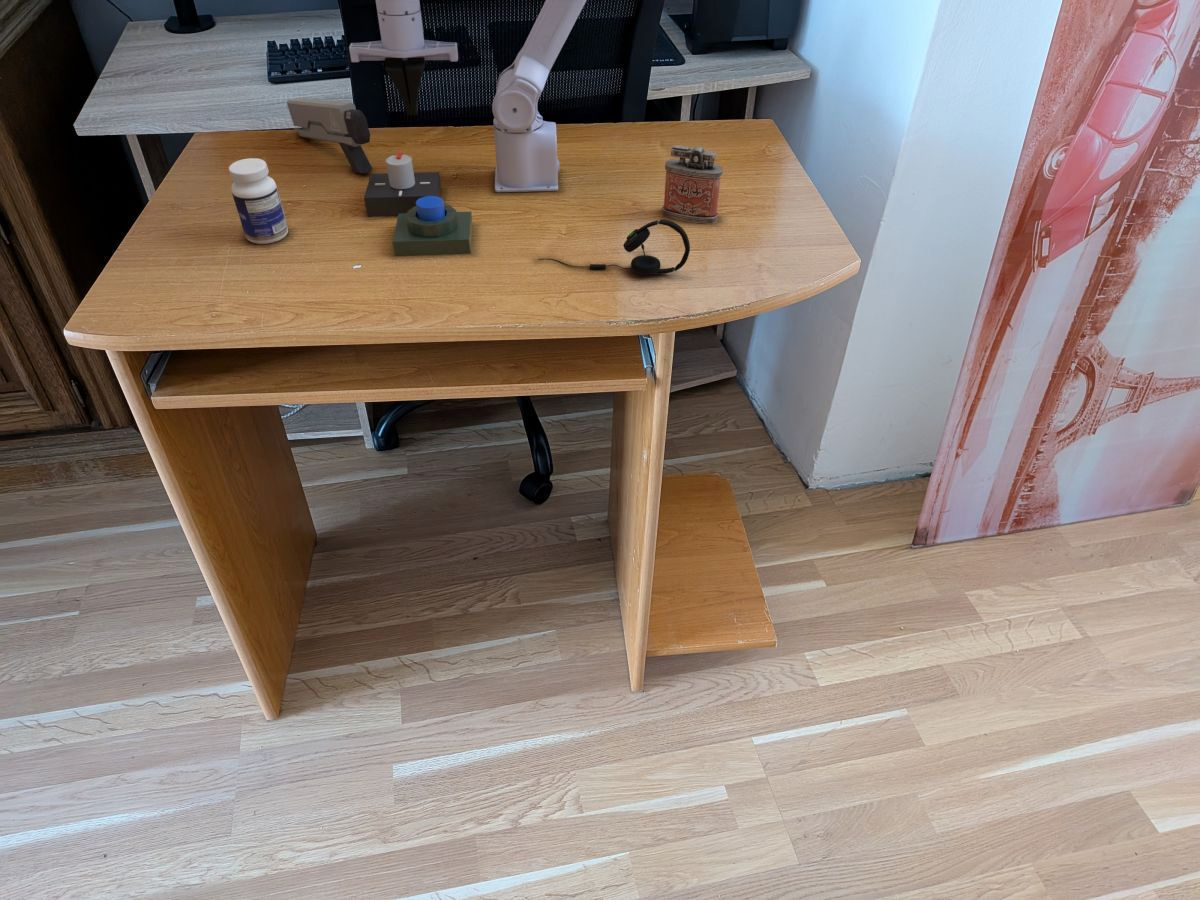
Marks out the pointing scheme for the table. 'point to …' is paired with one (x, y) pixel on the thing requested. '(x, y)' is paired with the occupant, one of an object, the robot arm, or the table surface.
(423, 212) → the power button
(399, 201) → the dimmer console
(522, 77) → the robot arm
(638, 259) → the headset
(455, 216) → the switch box
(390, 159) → the dimmer knob
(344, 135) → the gun
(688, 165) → the lighter
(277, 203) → the pill bottle
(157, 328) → the table surface
